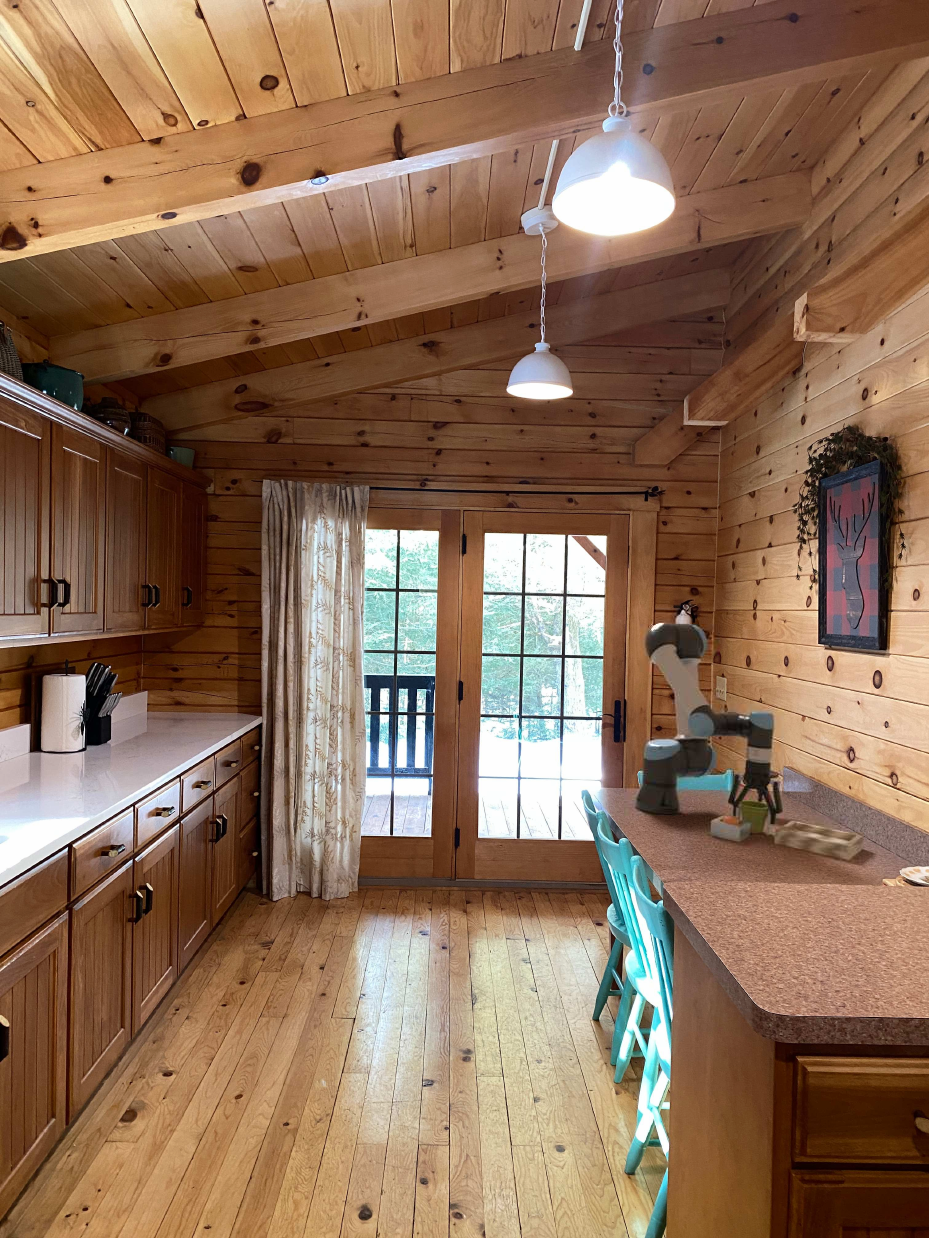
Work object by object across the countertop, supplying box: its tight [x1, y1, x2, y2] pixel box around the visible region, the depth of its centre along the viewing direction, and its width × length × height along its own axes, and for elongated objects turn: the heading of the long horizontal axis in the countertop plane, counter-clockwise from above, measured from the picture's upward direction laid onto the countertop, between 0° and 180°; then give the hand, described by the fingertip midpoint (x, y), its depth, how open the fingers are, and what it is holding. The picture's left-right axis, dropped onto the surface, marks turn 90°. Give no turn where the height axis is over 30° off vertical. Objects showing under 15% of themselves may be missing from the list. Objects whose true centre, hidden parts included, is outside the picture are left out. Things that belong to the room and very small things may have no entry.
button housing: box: [709, 815, 751, 843], centre depth 259 cm, size 9×9×4 cm
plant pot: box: [739, 800, 769, 835], centre depth 266 cm, size 9×9×9 cm
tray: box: [774, 820, 864, 861], centre depth 254 cm, size 21×17×4 cm
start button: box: [722, 815, 740, 825], centre depth 259 cm, size 5×5×3 cm
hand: (752, 830), depth 266 cm, fingers open, 9 cm apart
